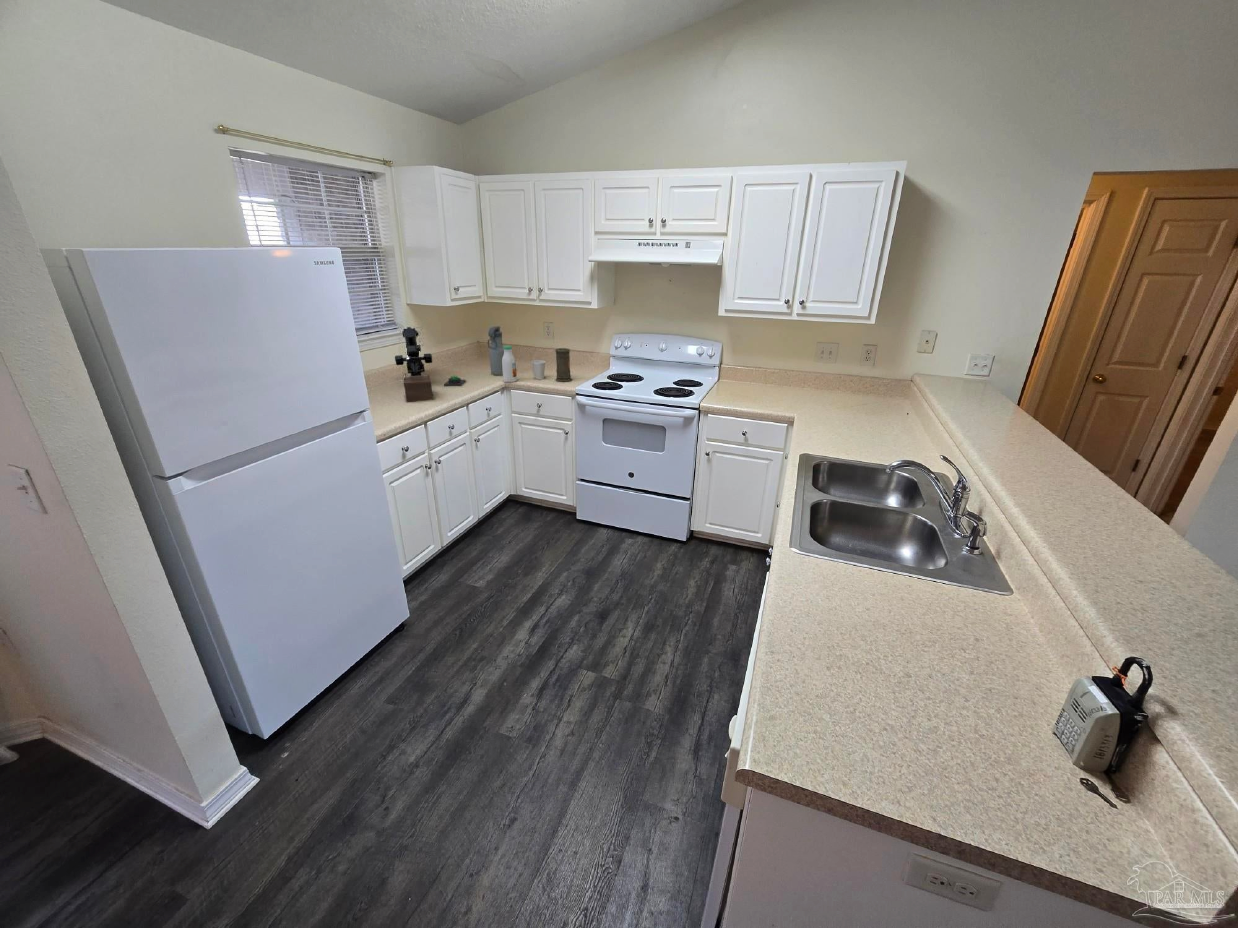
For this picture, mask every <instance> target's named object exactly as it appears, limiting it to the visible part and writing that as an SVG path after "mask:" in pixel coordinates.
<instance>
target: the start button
mask: <svg viewBox="0 0 1238 928" xmlns="http://www.w3.org/2000/svg"><path fill="white" fill-rule="evenodd" d="M458 377H459V376H458V375H451V376H450V378H451V379H458Z"/></svg>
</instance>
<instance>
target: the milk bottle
mask: <svg viewBox="0 0 1238 928" xmlns="http://www.w3.org/2000/svg"><path fill="white" fill-rule="evenodd" d="M503 348H504V355H503V358H502V370H503V375H502V380H503V381H504V382H505V383H514V382H517V380H518V377H517V364H516V359H515V356H514V354H513V352H512V350H513V347H512V345H503Z"/></svg>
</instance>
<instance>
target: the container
mask: <svg viewBox="0 0 1238 928" xmlns="http://www.w3.org/2000/svg"><path fill="white" fill-rule="evenodd" d="M554 352H555V359H556V360H555V362H556V363H555V364H556V375H555V377H556V378H555V380H556V382H559V383H566V382H567V383H568V382H571V381H572V374H571V362H570V361H571V360H570V357H571V356H570V354H571V353H570V352H571V349H570V348H567V347H561V348H555V350H554Z"/></svg>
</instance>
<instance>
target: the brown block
mask: <svg viewBox="0 0 1238 928" xmlns="http://www.w3.org/2000/svg"><path fill="white" fill-rule="evenodd" d="M427 375H428V376H415V377H408V376H403V386H404V392H405V399H406V403H413V402H423V401H425V402H426V401H433V400H434V394H433V388H432V380H431V376H430V375H429V374H427Z"/></svg>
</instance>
